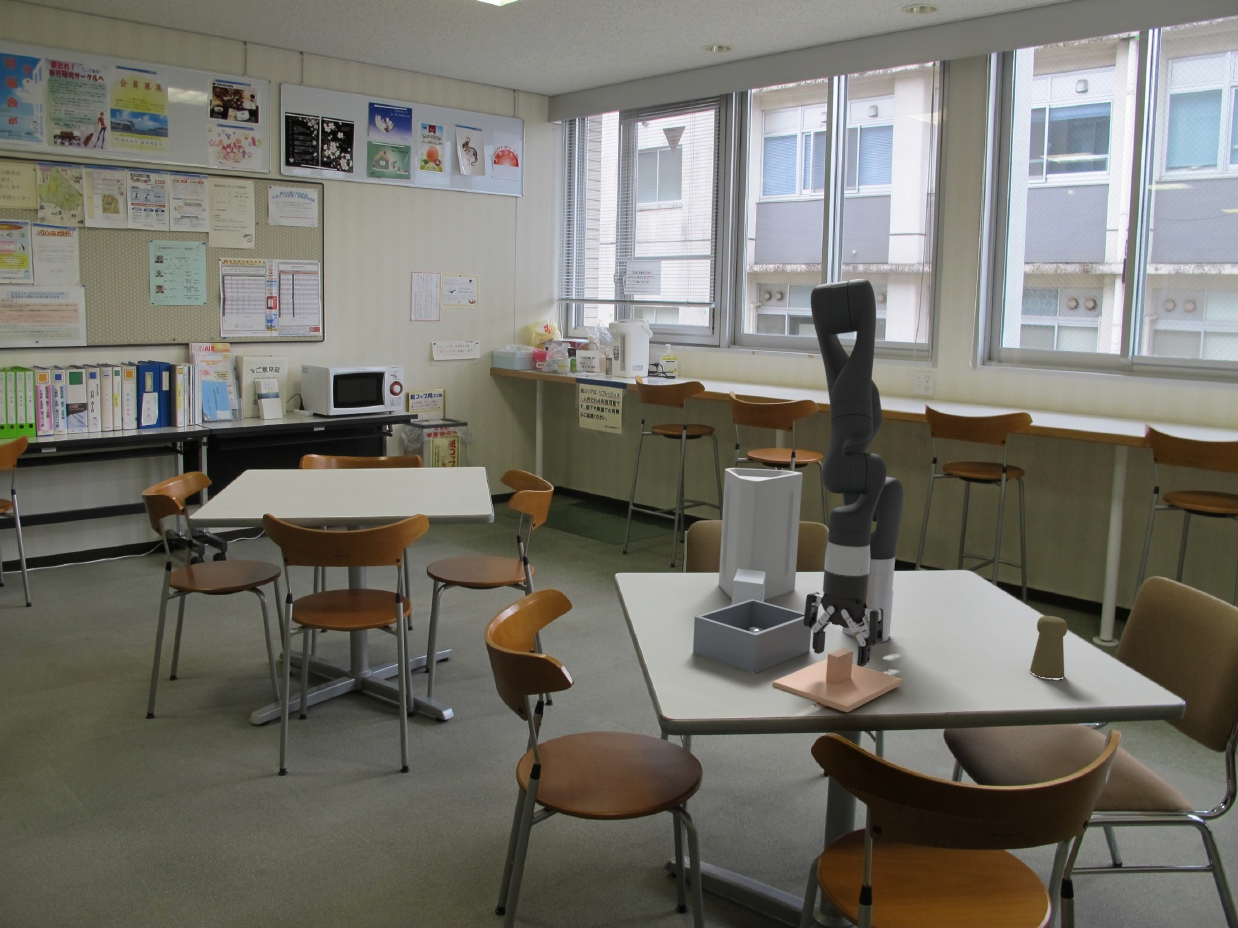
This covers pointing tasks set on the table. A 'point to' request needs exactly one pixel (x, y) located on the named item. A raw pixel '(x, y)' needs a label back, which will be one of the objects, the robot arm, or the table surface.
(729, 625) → the tub
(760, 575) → the skincare box
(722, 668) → the table surface
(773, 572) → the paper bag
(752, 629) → the metal part
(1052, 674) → the cork
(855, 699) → the lid
